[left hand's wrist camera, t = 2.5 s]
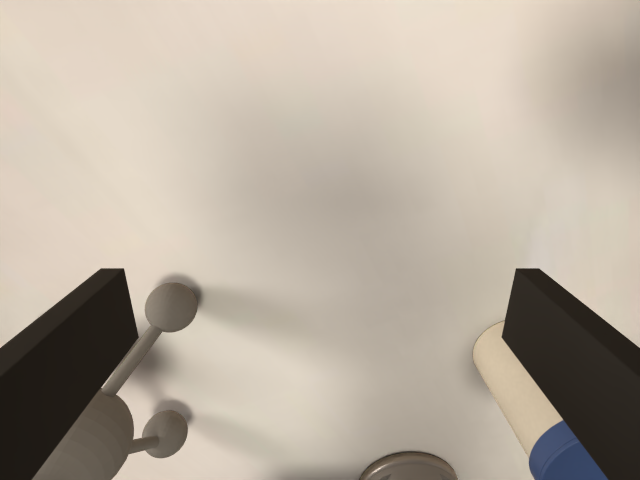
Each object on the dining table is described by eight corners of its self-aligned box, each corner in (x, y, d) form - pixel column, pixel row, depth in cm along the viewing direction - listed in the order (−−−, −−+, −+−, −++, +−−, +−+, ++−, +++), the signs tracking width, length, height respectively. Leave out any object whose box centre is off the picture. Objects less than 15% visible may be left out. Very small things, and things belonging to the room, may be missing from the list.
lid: (516, 491, 36) (528, 515, 34) (545, 408, 32) (560, 429, 30) (623, 494, 36) (641, 518, 34) (664, 412, 32) (688, 433, 30)
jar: (466, 378, 49) (532, 506, 34) (480, 317, 46) (561, 429, 30) (536, 380, 49) (634, 509, 34) (556, 320, 46) (674, 433, 30)
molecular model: (275, 335, 46) (207, 700, 18) (180, 434, 52) (21, 821, 24) (106, 220, 41) (-358, 491, 13) (22, 346, 47) (-416, 715, 19)
